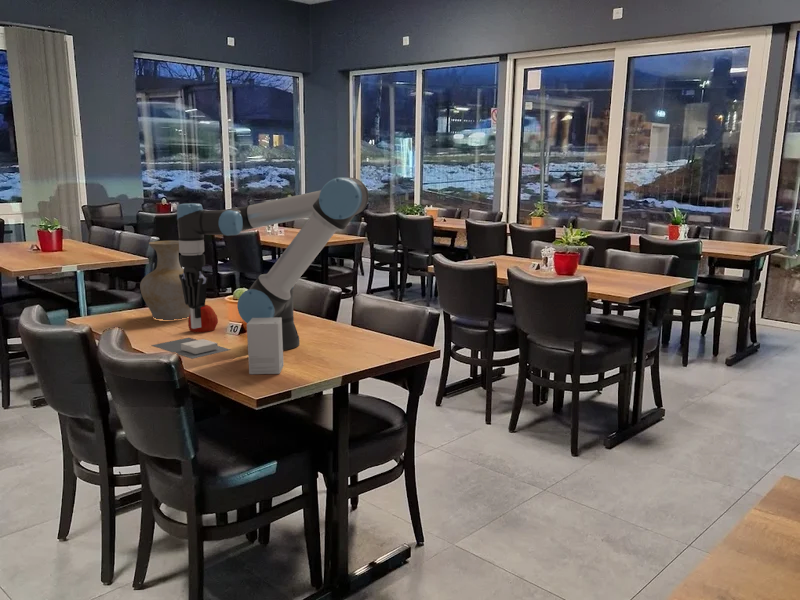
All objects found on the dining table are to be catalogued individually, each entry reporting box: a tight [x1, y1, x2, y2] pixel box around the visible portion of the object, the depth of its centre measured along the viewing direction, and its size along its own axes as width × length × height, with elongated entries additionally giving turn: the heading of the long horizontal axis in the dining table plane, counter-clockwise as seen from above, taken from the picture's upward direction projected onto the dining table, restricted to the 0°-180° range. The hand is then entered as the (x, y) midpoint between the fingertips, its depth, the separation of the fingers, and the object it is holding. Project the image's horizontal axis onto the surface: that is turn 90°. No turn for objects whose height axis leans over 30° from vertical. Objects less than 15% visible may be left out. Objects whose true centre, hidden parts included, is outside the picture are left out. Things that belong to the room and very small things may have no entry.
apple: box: [187, 304, 219, 333], centre depth 239 cm, size 10×10×10 cm
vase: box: [139, 240, 190, 320], centre depth 261 cm, size 22×22×30 cm
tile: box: [181, 338, 219, 354], centre depth 211 cm, size 2×8×8 cm
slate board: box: [151, 337, 232, 360], centre depth 215 cm, size 24×14×1 cm, turn 49°
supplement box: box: [246, 317, 284, 375], centre depth 193 cm, size 9×9×15 cm
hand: (196, 327), depth 211 cm, fingers closed
